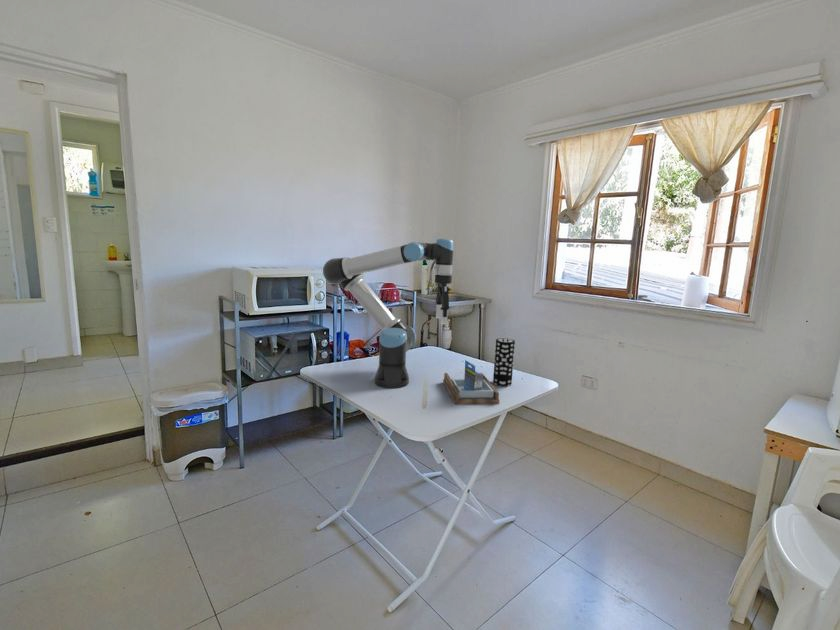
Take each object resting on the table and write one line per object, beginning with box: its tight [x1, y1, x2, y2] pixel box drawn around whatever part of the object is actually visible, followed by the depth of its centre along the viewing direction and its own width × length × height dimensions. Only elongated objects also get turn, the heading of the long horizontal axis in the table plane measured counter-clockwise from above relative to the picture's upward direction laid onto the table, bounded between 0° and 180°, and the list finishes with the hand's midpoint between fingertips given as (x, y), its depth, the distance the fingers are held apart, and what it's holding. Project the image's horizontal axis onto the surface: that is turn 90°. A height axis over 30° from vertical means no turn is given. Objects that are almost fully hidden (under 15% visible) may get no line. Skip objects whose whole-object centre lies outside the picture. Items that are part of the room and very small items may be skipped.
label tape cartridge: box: [463, 359, 484, 391], centre depth 167 cm, size 9×4×12 cm, turn 21°
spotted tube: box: [492, 337, 516, 387], centre depth 184 cm, size 8×8×20 cm
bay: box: [442, 372, 500, 405], centre depth 172 cm, size 18×25×4 cm
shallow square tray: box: [452, 378, 494, 399], centre depth 168 cm, size 14×14×3 cm
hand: (441, 321), depth 185 cm, fingers open, 13 cm apart
